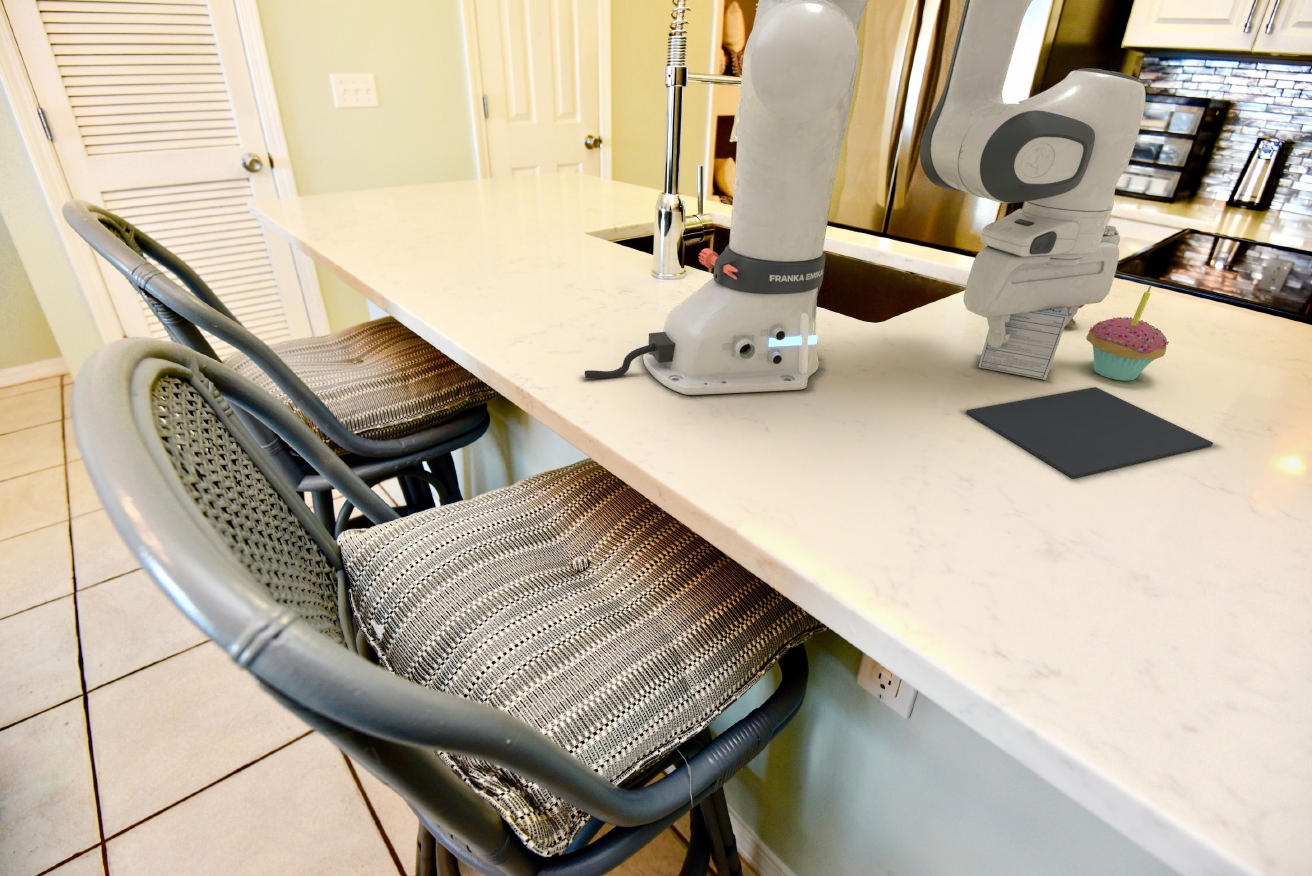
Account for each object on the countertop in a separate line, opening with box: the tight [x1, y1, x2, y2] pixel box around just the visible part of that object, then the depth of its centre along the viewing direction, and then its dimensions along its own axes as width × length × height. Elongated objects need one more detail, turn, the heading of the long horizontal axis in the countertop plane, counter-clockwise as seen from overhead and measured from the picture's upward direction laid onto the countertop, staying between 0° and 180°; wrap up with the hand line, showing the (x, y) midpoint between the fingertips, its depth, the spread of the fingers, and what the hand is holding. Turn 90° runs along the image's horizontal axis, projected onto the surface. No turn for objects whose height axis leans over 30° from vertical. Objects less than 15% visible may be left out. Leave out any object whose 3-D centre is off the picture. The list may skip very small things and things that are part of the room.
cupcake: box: [1086, 285, 1170, 382], centre depth 83 cm, size 9×8×12 cm
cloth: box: [965, 386, 1214, 479], centre depth 72 cm, size 20×14×1 cm
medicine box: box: [978, 307, 1068, 381], centre depth 84 cm, size 8×4×9 cm, turn 64°
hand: (1023, 341), depth 84 cm, fingers closed on medicine box, 7 cm apart
